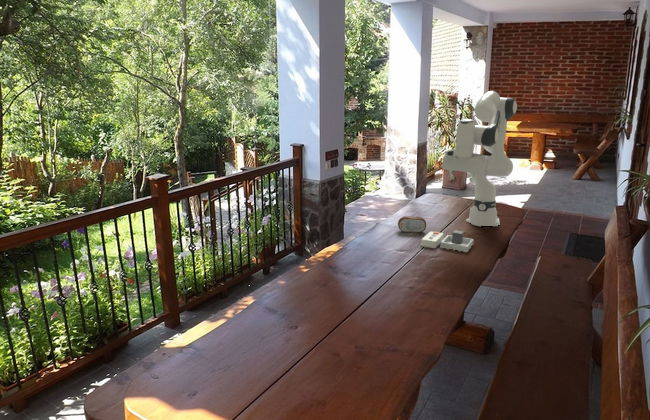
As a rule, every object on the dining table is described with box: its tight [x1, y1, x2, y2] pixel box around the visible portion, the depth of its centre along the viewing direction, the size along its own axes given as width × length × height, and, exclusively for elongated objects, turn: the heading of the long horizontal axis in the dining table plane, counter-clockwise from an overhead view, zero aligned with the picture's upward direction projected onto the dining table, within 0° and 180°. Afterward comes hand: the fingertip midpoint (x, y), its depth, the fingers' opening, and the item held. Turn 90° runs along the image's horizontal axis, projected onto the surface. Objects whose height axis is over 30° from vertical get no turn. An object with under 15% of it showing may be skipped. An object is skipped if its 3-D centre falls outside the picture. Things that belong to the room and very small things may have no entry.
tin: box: [397, 215, 427, 234], centre depth 263 cm, size 15×3×8 cm, turn 84°
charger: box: [451, 229, 465, 245], centre depth 241 cm, size 4×4×7 cm
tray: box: [439, 234, 474, 253], centre depth 242 cm, size 13×13×3 cm
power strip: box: [420, 230, 445, 249], centre depth 249 cm, size 21×7×4 cm, turn 151°
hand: (461, 180), depth 245 cm, fingers open, 8 cm apart
